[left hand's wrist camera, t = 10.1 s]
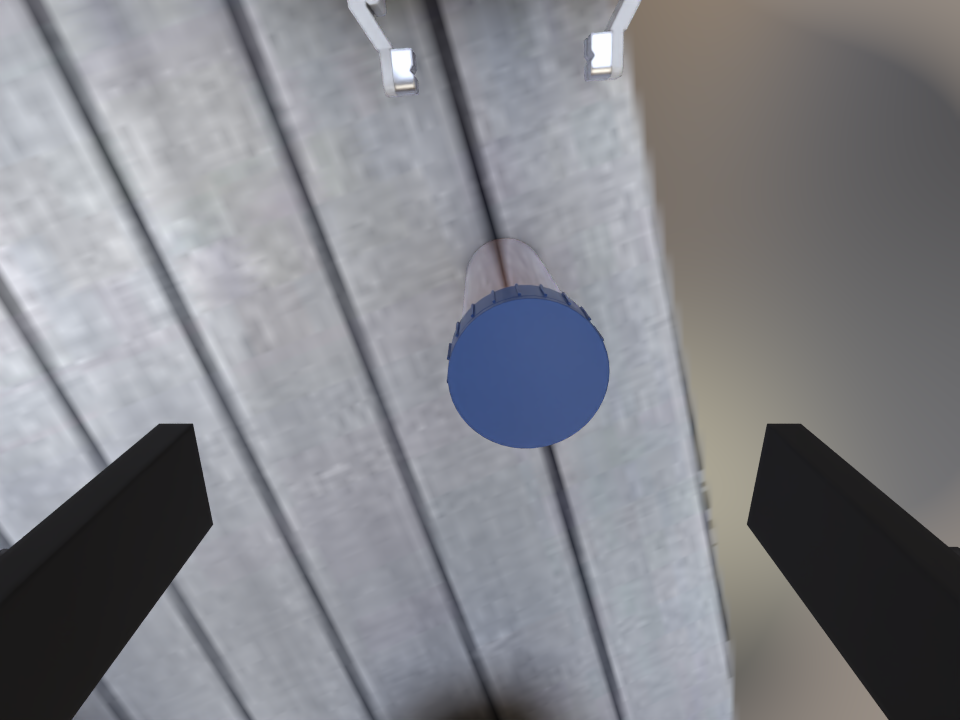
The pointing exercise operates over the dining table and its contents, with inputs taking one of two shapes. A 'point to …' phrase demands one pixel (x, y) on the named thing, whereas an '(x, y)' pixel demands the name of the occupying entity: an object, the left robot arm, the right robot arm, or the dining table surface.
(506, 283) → the jar
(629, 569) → the dining table surface
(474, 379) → the lid
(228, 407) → the dining table surface
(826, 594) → the left robot arm
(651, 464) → the dining table surface
